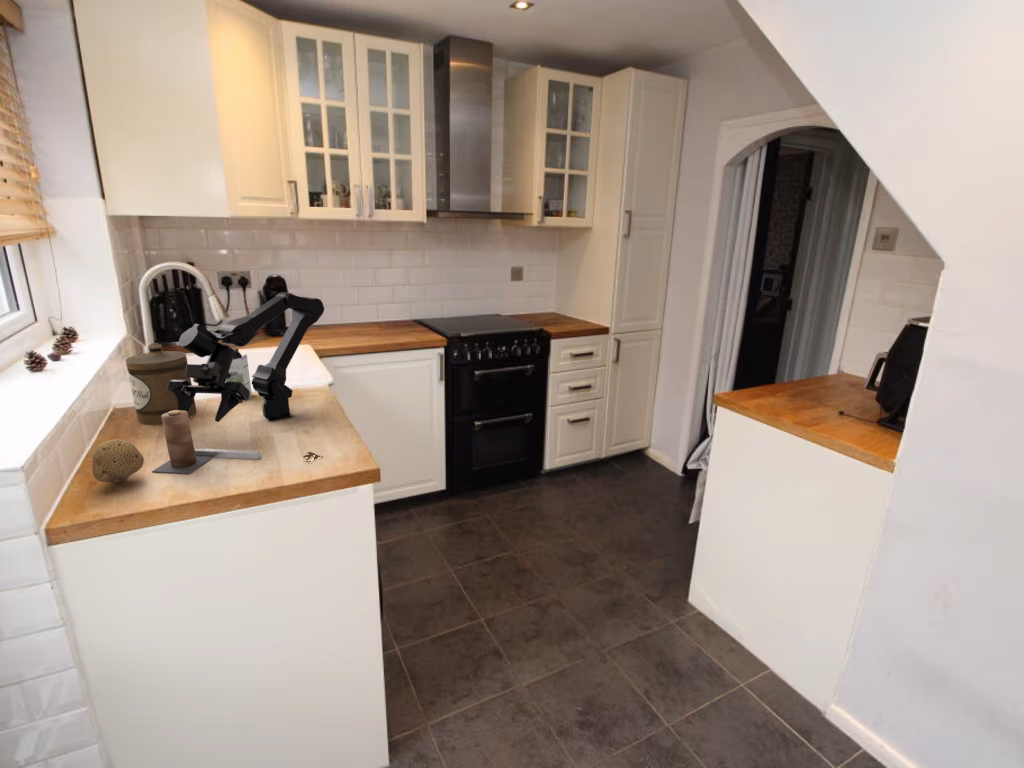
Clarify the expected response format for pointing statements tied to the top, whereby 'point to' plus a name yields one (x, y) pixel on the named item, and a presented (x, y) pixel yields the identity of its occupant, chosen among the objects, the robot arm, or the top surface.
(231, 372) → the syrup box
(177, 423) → the brown thread spool
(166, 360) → the wooden container
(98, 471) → the natural sponge
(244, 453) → the steel straightedge
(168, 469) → the grey square plate
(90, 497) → the top surface
